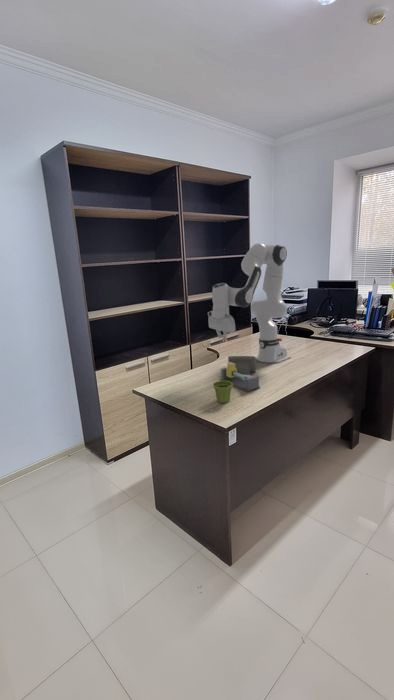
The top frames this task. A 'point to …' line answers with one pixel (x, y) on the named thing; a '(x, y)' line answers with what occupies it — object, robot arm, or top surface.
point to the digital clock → (244, 364)
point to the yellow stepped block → (230, 369)
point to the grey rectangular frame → (241, 381)
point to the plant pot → (223, 391)
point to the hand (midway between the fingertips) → (222, 338)
